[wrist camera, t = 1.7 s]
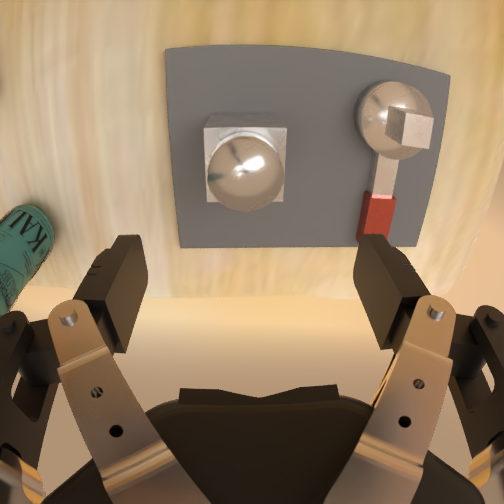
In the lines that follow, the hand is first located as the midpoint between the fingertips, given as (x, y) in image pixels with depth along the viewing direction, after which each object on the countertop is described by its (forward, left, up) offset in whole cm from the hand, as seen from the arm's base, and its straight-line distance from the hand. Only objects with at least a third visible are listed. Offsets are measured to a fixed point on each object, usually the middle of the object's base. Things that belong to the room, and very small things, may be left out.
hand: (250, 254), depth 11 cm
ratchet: (+12, -1, -16) cm, 20 cm away
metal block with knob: (0, 0, -16) cm, 16 cm away
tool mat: (+6, -1, -17) cm, 18 cm away
